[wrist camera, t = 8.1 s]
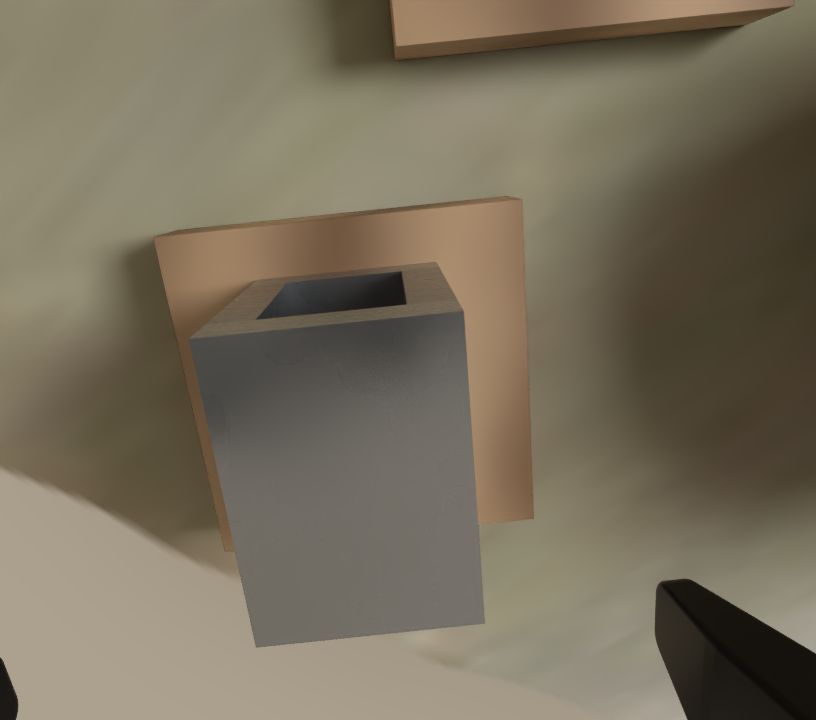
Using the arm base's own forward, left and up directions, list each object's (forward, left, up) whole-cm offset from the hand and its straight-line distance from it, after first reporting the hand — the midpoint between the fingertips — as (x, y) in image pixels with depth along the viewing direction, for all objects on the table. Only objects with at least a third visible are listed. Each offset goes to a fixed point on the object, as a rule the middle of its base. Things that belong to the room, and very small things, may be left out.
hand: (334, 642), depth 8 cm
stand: (0, 0, -12) cm, 12 cm away
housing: (0, 0, -10) cm, 10 cm away
